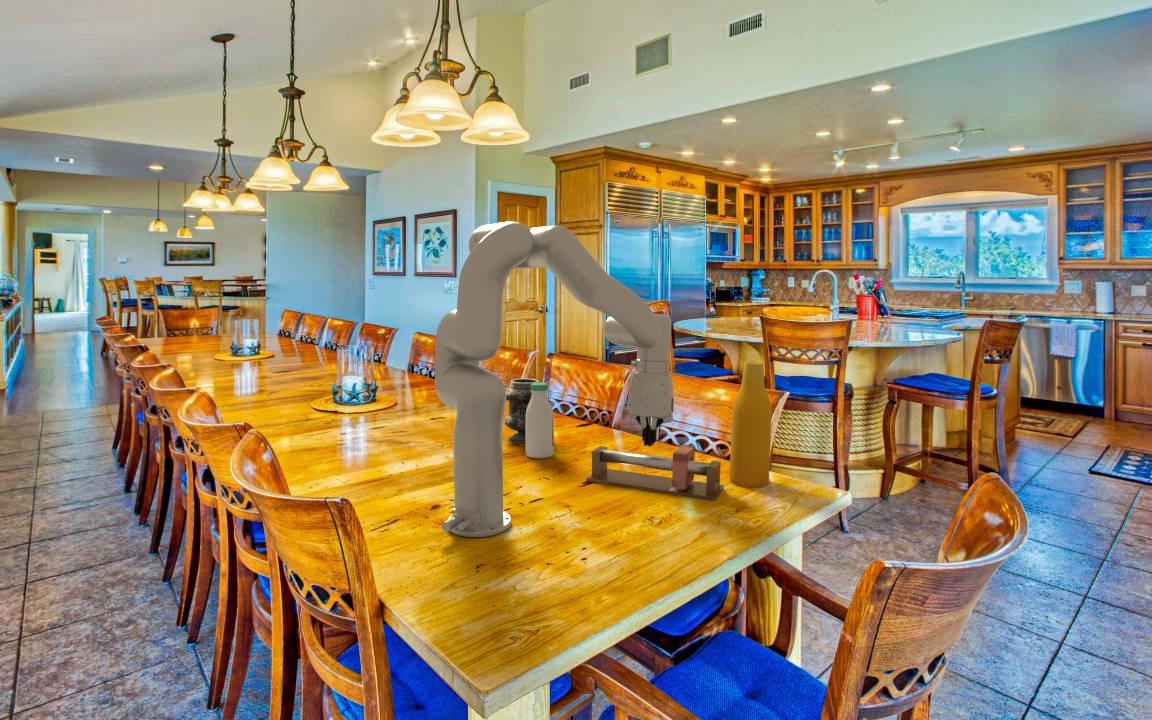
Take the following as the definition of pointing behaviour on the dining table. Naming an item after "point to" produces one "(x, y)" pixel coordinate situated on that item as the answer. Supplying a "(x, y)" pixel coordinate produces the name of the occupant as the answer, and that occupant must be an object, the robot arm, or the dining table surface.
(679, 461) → the collar
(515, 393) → the apothecary jar
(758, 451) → the beer bottle
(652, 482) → the pipe rig
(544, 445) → the milk bottle
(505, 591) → the dining table surface
